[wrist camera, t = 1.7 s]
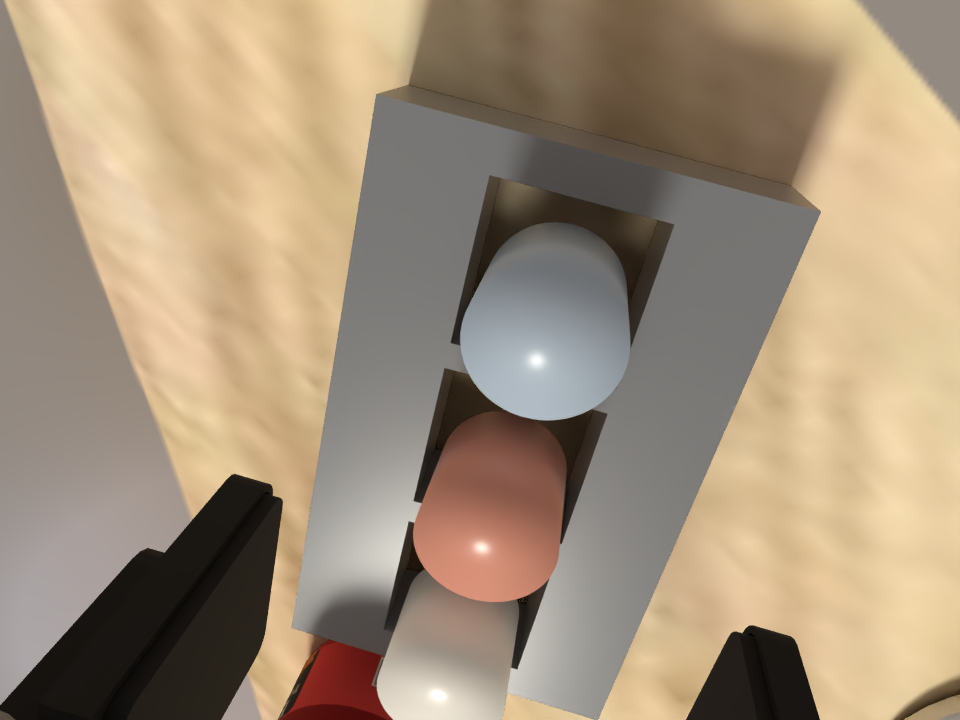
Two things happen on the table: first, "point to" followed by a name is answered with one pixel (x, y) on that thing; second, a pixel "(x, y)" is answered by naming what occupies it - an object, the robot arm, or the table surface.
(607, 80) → the table surface
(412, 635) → the white dome button
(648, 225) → the table surface
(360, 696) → the canned food
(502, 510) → the pink rounded dome
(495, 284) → the pale blue rounded dome
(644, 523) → the grey slotted tray
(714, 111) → the table surface
